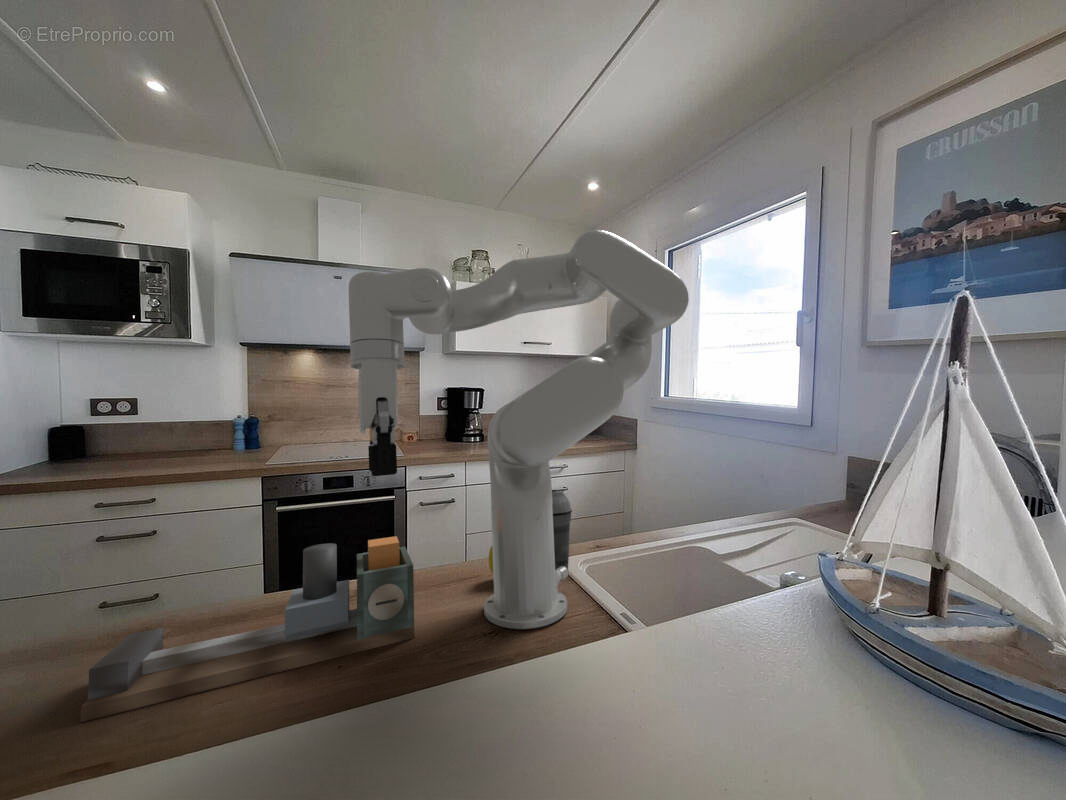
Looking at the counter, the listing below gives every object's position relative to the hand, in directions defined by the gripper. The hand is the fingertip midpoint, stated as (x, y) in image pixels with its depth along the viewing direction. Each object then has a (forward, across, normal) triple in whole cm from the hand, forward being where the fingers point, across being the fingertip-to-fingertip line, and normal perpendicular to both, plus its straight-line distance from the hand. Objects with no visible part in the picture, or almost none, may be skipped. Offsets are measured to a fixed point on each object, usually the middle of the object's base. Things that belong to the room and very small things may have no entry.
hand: (382, 472), depth 56 cm
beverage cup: (+23, -6, +30) cm, 39 cm away
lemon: (+23, -7, +20) cm, 31 cm away
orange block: (+14, 0, 0) cm, 14 cm away
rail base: (+22, 0, -13) cm, 25 cm away
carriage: (+19, 0, -8) cm, 21 cm away
